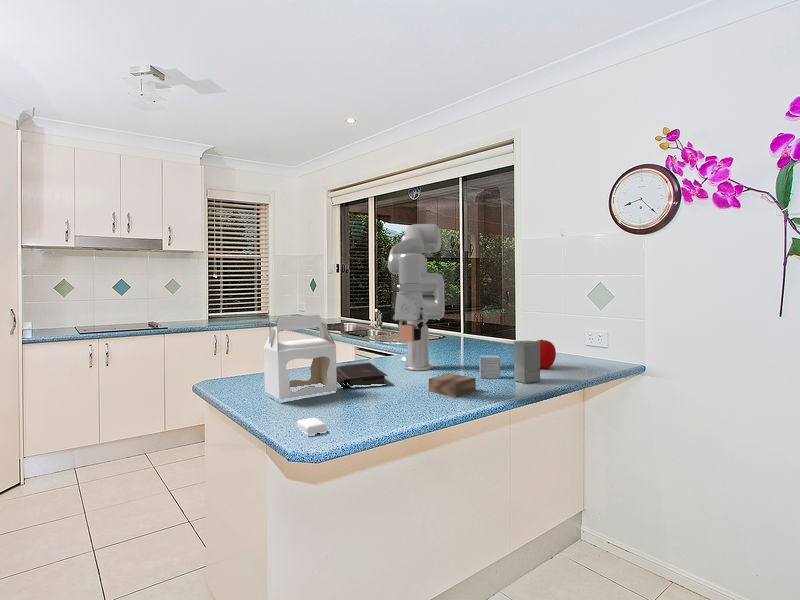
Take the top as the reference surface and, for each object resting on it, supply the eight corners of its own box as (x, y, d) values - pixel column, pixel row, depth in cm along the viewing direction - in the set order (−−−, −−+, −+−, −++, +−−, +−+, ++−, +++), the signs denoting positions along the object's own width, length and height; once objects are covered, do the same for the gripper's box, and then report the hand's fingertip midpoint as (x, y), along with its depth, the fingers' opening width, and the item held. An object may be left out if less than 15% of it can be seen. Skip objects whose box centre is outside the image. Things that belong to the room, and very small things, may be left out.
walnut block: (428, 392, 173) (428, 378, 173) (448, 386, 182) (448, 373, 182) (455, 398, 165) (455, 383, 165) (475, 391, 174) (475, 377, 174)
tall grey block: (525, 384, 183) (525, 342, 182) (512, 380, 189) (512, 340, 188) (541, 381, 187) (541, 341, 186) (528, 378, 193) (528, 338, 192)
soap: (293, 429, 134) (293, 419, 134) (316, 425, 137) (316, 415, 137) (306, 438, 126) (305, 427, 126) (330, 433, 130) (329, 423, 130)
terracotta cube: (399, 340, 171) (399, 325, 171) (408, 339, 175) (408, 323, 175) (411, 342, 168) (411, 326, 167) (421, 340, 172) (420, 324, 172)
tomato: (559, 370, 207) (559, 340, 206) (533, 370, 207) (533, 341, 206) (551, 365, 218) (551, 337, 218) (527, 365, 218) (527, 337, 218)
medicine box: (498, 376, 197) (498, 355, 197) (500, 378, 193) (500, 357, 192) (479, 376, 198) (479, 355, 197) (480, 378, 193) (480, 357, 193)
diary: (341, 391, 178) (341, 378, 177) (329, 378, 201) (328, 366, 201) (389, 386, 184) (389, 373, 183) (372, 373, 207) (371, 362, 207)
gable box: (320, 386, 183) (319, 313, 182) (337, 393, 173) (336, 315, 171) (264, 396, 170) (261, 317, 169) (278, 404, 159) (276, 319, 158)
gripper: (384, 288, 173) (385, 338, 174) (423, 289, 162) (424, 342, 163) (397, 287, 179) (398, 336, 180) (435, 288, 168) (436, 339, 169)
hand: (410, 338), depth 171 cm, fingers closed on terracotta cube, 5 cm apart
